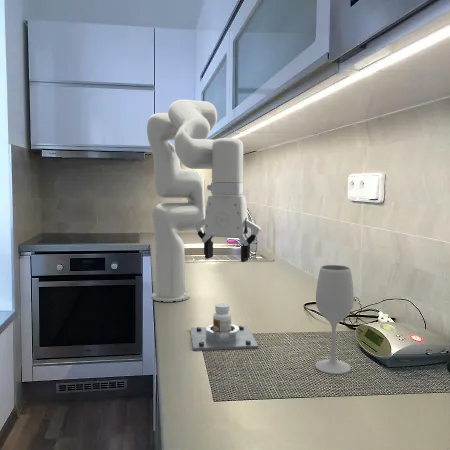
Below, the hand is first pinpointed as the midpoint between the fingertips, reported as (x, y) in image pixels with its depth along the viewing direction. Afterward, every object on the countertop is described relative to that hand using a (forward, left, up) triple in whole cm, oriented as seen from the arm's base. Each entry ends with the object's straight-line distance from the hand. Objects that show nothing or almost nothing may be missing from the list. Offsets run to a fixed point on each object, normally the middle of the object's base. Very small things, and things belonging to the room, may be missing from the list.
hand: (226, 259), depth 115 cm
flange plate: (+2, -1, -19) cm, 19 cm away
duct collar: (+2, -1, -19) cm, 19 cm away
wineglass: (+22, +20, -20) cm, 36 cm away
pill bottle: (+2, -1, -19) cm, 19 cm away
